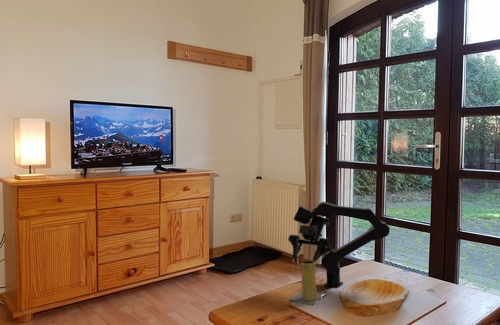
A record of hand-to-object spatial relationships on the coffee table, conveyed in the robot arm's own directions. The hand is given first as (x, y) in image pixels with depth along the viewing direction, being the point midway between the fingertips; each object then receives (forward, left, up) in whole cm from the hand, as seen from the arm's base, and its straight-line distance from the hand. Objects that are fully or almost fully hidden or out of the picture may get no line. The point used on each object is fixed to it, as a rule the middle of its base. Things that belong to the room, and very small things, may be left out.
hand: (303, 260), depth 162 cm
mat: (+4, +4, -14) cm, 15 cm away
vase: (+5, +5, -13) cm, 15 cm away
